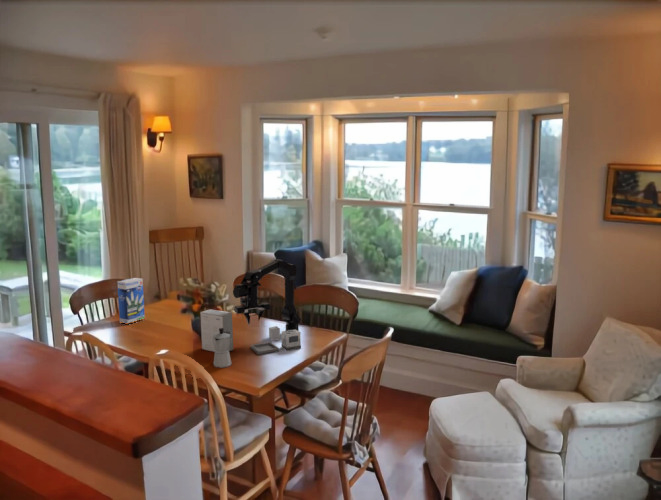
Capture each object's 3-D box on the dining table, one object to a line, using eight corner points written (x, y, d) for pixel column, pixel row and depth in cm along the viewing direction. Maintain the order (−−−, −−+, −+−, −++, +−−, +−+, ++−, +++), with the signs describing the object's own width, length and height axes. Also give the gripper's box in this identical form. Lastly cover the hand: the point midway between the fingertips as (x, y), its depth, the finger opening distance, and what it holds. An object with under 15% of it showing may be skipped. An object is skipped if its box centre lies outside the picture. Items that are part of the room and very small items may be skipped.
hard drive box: (233, 350, 291) (232, 312, 288) (224, 354, 285) (222, 316, 282) (211, 344, 299) (209, 308, 296) (201, 349, 293) (199, 312, 289)
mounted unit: (295, 344, 300) (295, 329, 299) (300, 348, 294) (300, 332, 293) (281, 346, 296) (281, 331, 295) (286, 350, 290) (286, 334, 289)
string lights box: (127, 325, 333) (124, 282, 329) (119, 323, 337) (116, 281, 333) (145, 319, 344) (143, 278, 340) (137, 318, 348) (134, 277, 344)
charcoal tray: (270, 345, 299) (270, 341, 299) (278, 351, 289) (278, 348, 289) (251, 348, 294) (251, 345, 294) (258, 354, 284) (258, 351, 284)
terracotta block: (255, 323, 303) (255, 313, 302) (258, 326, 300) (258, 315, 298) (247, 325, 301) (247, 314, 300) (250, 327, 297) (250, 316, 296)
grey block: (276, 336, 313) (276, 326, 312) (279, 339, 309) (279, 328, 308) (269, 337, 311) (269, 327, 310) (272, 340, 307) (272, 329, 306)
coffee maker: (224, 370, 264) (223, 333, 261) (207, 368, 267) (206, 331, 264) (238, 359, 278) (237, 324, 275) (222, 357, 281) (221, 322, 278)
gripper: (263, 289, 309) (264, 317, 312) (230, 293, 300) (231, 321, 303) (271, 294, 299) (271, 322, 302) (237, 298, 291) (238, 327, 293)
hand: (253, 323), depth 300 cm, fingers closed on terracotta block, 4 cm apart
